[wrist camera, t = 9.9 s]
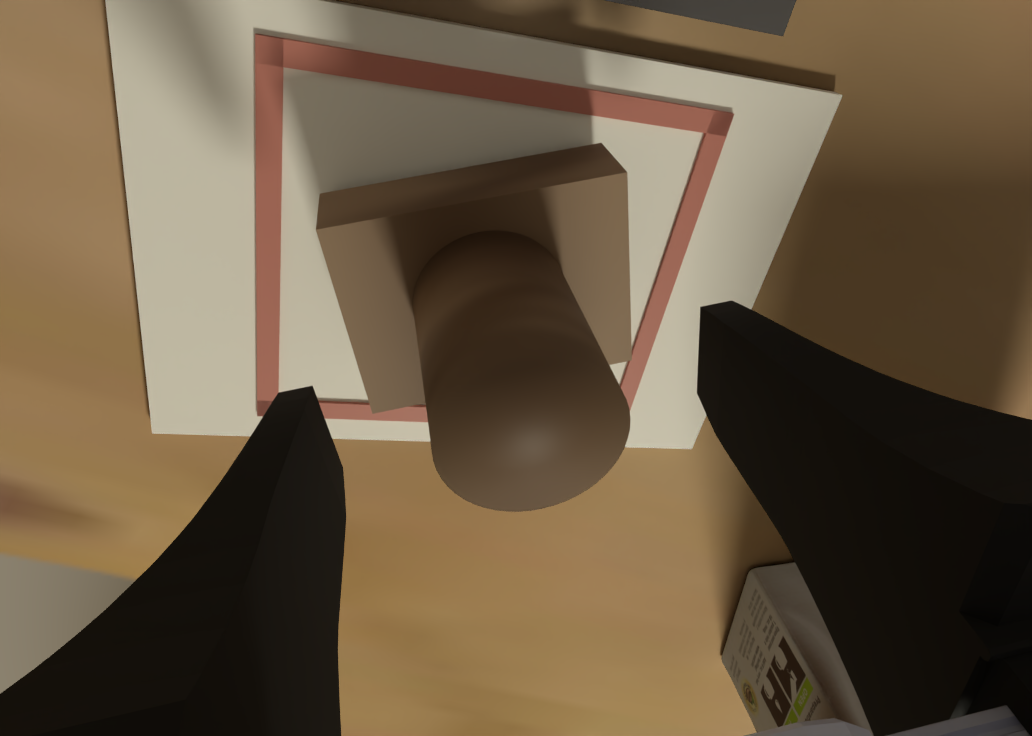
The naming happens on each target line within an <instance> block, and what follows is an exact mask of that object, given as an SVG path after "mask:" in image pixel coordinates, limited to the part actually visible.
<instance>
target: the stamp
mask: <svg viewBox="0 0 1032 736" xmlns="http://www.w3.org/2000/svg"><path fill="white" fill-rule="evenodd" d="M316 232H317V235H318V239H319V242H320V245H321V248H322V252H323V255H324V258H325V261H326V265H327V268H328V271H329V274H330V278H331V281H332V284H333V287H334V291H335V294H336V297H337V300H338V304H339V307H340V310H341V313H342V316H343V320H344V323H345V326H346V329H347V333H348V336H349V339H350V342H351V346H352V349H353V352H354V355H355V359H356V362H357V365H358V368H359V372H360V375H361V378H362V381H363V385H364V388H365V391H366V394H367V398H368V401H369V404H370V407H371V411H372V414H375V413H379V412H384V411H389V410H394V409H399V408H404V407H408V406H413V405H418V404H423V403H426V411H427V418H428V426H429V434H430V441H431V449H432V455H433V461H434V464H435V467H436V470H437V472H438V473H439V475H440V477H441V479H442V480H443V481H444V483H445V484H446V485H447V486H448V487H449V488H450V489H451V490H452V491H453V492H454V493H455V494H457V495H458V496H460V497H461V498H463V499H465V500H467V501H469V502H471V503H473V504H475V505H478V506H481V507H484V508H488V509H493V510H499V511H515V512H519V511H531V510H537V509H542V508H546V507H550V506H554V505H557V504H559V503H562V502H565V501H567V500H569V499H571V498H573V497H575V496H577V495H579V494H581V493H582V492H584V491H586V490H587V489H589V488H590V487H592V486H593V485H594V484H596V483H597V482H598V481H599V480H600V479H601V478H603V477H604V476H605V475H606V474H607V473H608V471H609V470H610V469H611V468H612V467H613V466H614V464H615V463H616V461H617V460H618V459H619V457H620V455H621V453H622V451H623V450H624V447H625V445H626V442H627V439H628V435H629V431H630V410H629V406H628V403H627V399H626V397H625V395H624V393H623V391H622V389H621V387H620V385H619V383H618V381H617V379H616V378H615V376H614V374H613V372H612V370H611V368H610V366H609V365H612V364H617V363H622V362H626V361H631V360H632V344H631V302H630V261H629V219H628V177H627V171H626V170H625V169H624V168H623V167H622V166H621V164H620V163H619V162H618V161H617V160H616V159H615V158H614V156H613V155H612V154H611V153H610V152H609V151H608V150H607V148H606V147H605V146H604V145H603V144H602V143H597V144H591V145H586V146H580V147H575V148H569V149H564V150H558V151H553V152H547V153H542V154H536V155H530V156H525V157H519V158H514V159H508V160H503V161H497V162H492V163H486V164H481V165H475V166H470V167H464V168H459V169H453V170H448V171H442V172H436V173H431V174H425V175H420V176H414V177H409V178H403V179H398V180H392V181H387V182H381V183H376V184H370V185H365V186H359V187H354V188H348V189H342V190H337V191H331V192H326V193H320V194H319V204H318V213H317V223H316Z"/></svg>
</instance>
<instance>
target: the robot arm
mask: <svg viewBox="0 0 1032 736" xmlns="http://www.w3.org/2000/svg"><path fill="white" fill-rule="evenodd" d="M697 395H698V397H699V399H700V401H701V404H702V406H703V408H704V410H705V413H706V415H707V417H708V419H709V421H710V423H711V425H712V427H713V430H714V432H715V434H716V436H717V437H718V439H719V441H720V442H721V444H722V445H723V447H724V449H725V450H726V452H727V453H728V455H729V456H730V458H731V459H732V461H733V463H734V464H735V466H736V467H737V469H738V470H739V472H740V473H741V475H742V476H743V478H744V480H745V481H746V483H747V484H748V486H749V487H750V489H751V490H752V492H753V493H754V495H755V496H756V498H757V499H758V501H759V502H760V504H761V505H762V507H763V509H764V510H765V512H766V513H767V515H768V516H769V518H770V519H771V521H772V522H773V524H774V525H775V527H776V529H777V530H778V532H779V534H780V535H781V537H782V539H783V541H784V542H785V544H786V546H787V547H788V549H789V551H790V553H791V555H792V557H793V559H794V561H795V563H796V565H797V567H798V569H799V571H800V573H801V575H802V577H803V579H804V581H805V583H806V585H807V587H808V589H809V591H810V593H811V595H812V597H813V599H814V601H815V604H816V606H817V608H818V610H819V612H820V614H821V616H822V618H823V620H824V622H825V625H826V627H827V629H828V631H829V633H830V635H831V637H832V639H833V642H834V644H835V646H836V648H837V651H838V653H839V655H840V657H841V660H842V662H843V664H844V666H845V669H846V671H847V673H848V676H849V678H850V680H851V682H852V685H853V687H854V689H855V691H856V694H857V696H858V698H859V701H860V703H861V706H862V708H863V711H864V713H865V716H866V718H867V720H868V723H869V725H870V728H871V730H872V733H873V735H874V736H1032V420H1030V419H1026V418H1021V417H1017V416H1013V415H1009V414H1005V413H1001V412H997V411H993V410H990V409H986V408H983V407H979V406H976V405H972V404H968V403H965V402H961V401H958V400H955V399H951V398H948V397H945V396H942V395H939V394H936V393H933V392H930V391H927V390H924V389H922V388H919V387H916V386H913V385H910V384H908V383H905V382H902V381H899V380H897V379H894V378H891V377H889V376H886V375H884V374H881V373H879V372H877V371H874V370H872V369H870V368H868V367H865V366H863V365H861V364H858V363H856V362H854V361H852V360H849V359H847V358H845V357H843V356H841V355H839V354H836V353H834V352H832V351H830V350H828V349H826V348H824V347H822V346H820V345H818V344H816V343H814V342H812V341H810V340H808V339H806V338H804V337H802V336H800V335H798V334H796V333H795V332H793V331H791V330H789V329H787V328H785V327H783V326H781V325H779V324H777V323H776V322H774V321H772V320H770V319H768V318H766V317H764V316H762V315H760V314H759V313H757V312H755V311H753V310H751V309H749V308H747V307H745V306H743V305H741V304H739V303H736V302H734V301H732V300H731V301H726V302H722V303H717V304H712V305H707V306H702V307H700V326H699V350H698V375H697ZM345 526H346V507H345V490H344V476H343V467H342V464H341V461H340V459H339V456H338V453H337V451H336V448H335V445H334V442H333V440H332V437H331V434H330V432H329V429H328V426H327V423H326V421H325V418H324V415H323V413H322V410H321V407H320V404H319V402H318V399H317V396H316V394H315V391H314V388H313V386H308V387H303V388H298V389H294V390H289V391H284V392H279V393H278V394H277V395H276V397H275V398H274V400H273V401H272V403H271V404H270V406H269V408H268V409H267V411H266V412H265V414H264V416H263V417H262V419H261V420H260V422H259V424H258V425H257V427H256V429H255V430H254V432H253V433H252V435H251V437H250V438H249V440H248V441H247V443H246V444H245V446H244V448H243V449H242V451H241V452H240V454H239V455H238V457H237V458H236V460H235V461H234V463H233V464H232V466H231V467H230V469H229V470H228V472H227V473H226V475H225V476H224V477H223V479H222V480H221V482H220V483H219V485H218V486H217V487H216V489H215V490H214V491H213V493H212V494H211V495H210V497H209V498H208V499H207V501H206V502H205V503H204V505H203V506H202V507H201V509H200V510H199V511H198V513H197V514H196V515H195V517H194V518H193V519H192V520H191V521H190V523H189V524H188V525H187V526H186V527H185V529H184V530H183V531H182V532H181V533H180V535H179V536H178V537H177V538H176V539H175V540H174V541H173V542H172V543H171V545H170V546H169V547H168V548H167V549H166V550H165V551H164V552H163V553H162V555H161V556H160V557H159V558H158V559H157V560H156V561H155V562H154V563H153V564H152V565H151V566H150V567H149V568H148V569H147V570H146V571H145V572H144V573H143V574H142V575H141V576H140V577H139V578H138V579H137V580H136V581H135V582H134V583H133V584H132V585H131V586H130V587H129V588H128V589H127V590H125V591H124V593H122V594H121V595H120V596H119V597H118V598H117V599H116V600H115V601H114V602H113V603H112V604H111V605H110V606H109V607H108V608H107V609H106V610H105V611H103V613H101V614H100V615H99V616H98V617H97V618H96V619H94V620H93V621H92V622H91V623H90V624H89V625H87V626H86V627H85V628H84V629H83V630H82V631H81V632H79V633H78V634H77V635H76V636H75V637H73V638H72V639H71V640H70V641H68V642H67V643H66V644H65V645H64V646H62V647H61V648H60V649H59V650H58V651H56V652H55V653H54V654H53V655H51V656H50V657H49V658H48V659H46V660H45V661H44V662H42V663H41V664H40V665H39V666H37V667H36V668H35V669H34V670H32V671H31V672H29V673H28V674H27V675H25V676H24V677H23V678H21V679H20V680H19V681H17V682H16V683H14V684H13V685H12V686H10V687H9V688H8V689H6V690H5V691H4V692H3V693H1V694H0V736H341V723H340V703H339V675H338V623H339V610H340V596H341V583H342V569H343V556H344V541H345ZM745 736H872V735H871V733H870V731H869V730H868V729H865V728H862V727H859V726H856V725H853V724H850V723H847V722H844V721H841V720H838V719H835V718H831V719H822V720H813V721H804V722H797V723H793V724H789V725H785V726H781V727H777V728H773V729H769V730H765V731H761V732H757V733H753V734H749V735H745Z"/></svg>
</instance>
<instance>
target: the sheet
mask: <svg viewBox="0 0 1032 736" xmlns="http://www.w3.org/2000/svg"><path fill="white" fill-rule="evenodd" d="M105 2H106V11H107V21H108V30H109V39H110V48H111V58H112V67H113V76H114V85H115V95H116V104H117V113H118V122H119V132H120V141H121V150H122V159H123V169H124V178H125V187H126V196H127V206H128V215H129V224H130V233H131V243H132V252H133V261H134V270H135V280H136V289H137V298H138V307H139V317H140V326H141V335H142V344H143V354H144V363H145V372H146V381H147V391H148V400H149V409H150V418H151V428H152V433H157V434H191V435H225V436H251V435H252V433H253V432H254V430H255V429H256V427H257V425H258V424H259V422H260V420H261V419H262V417H263V416H264V414H265V412H266V411H267V409H268V408H269V406H270V404H271V403H272V401H273V400H274V398H275V397H276V395H277V394H278V393H279V392H284V391H289V390H294V389H298V388H303V387H308V386H313V388H314V391H315V394H316V396H317V399H318V402H319V404H320V407H321V410H322V413H323V415H324V418H325V421H326V423H327V426H328V429H329V432H330V434H331V437H332V439H362V440H397V441H430V434H429V426H428V418H427V411H426V403H423V404H418V405H413V406H408V407H404V408H399V409H394V410H389V411H384V412H379V413H375V414H372V411H371V407H370V404H369V401H368V398H367V394H366V391H365V388H364V385H363V381H362V378H361V375H360V372H359V368H358V365H357V362H356V359H355V355H354V352H353V349H352V346H351V342H350V339H349V336H348V333H347V329H346V326H345V323H344V320H343V316H342V313H341V310H340V307H339V304H338V300H337V297H336V294H335V291H334V287H333V284H332V281H331V278H330V274H329V271H328V268H327V265H326V261H325V258H324V255H323V252H322V248H321V245H320V242H319V239H318V235H317V232H316V223H317V213H318V204H319V194H320V193H326V192H331V191H337V190H342V189H348V188H354V187H359V186H365V185H370V184H376V183H381V182H387V181H392V180H398V179H403V178H409V177H414V176H420V175H425V174H431V173H436V172H442V171H448V170H453V169H459V168H464V167H470V166H475V165H481V164H486V163H492V162H497V161H503V160H508V159H514V158H519V157H525V156H530V155H536V154H542V153H547V152H553V151H558V150H564V149H569V148H575V147H580V146H586V145H591V144H597V143H602V144H603V145H604V146H605V147H606V148H607V150H608V151H609V152H610V153H611V154H612V155H613V156H614V158H615V159H616V160H617V161H618V162H619V163H620V164H621V166H622V167H623V168H624V169H625V170H626V171H627V177H628V219H629V261H630V302H631V344H632V360H631V361H626V362H622V363H617V364H612V365H609V366H610V368H611V370H612V372H613V374H614V376H615V378H616V379H617V381H618V383H619V385H620V387H621V389H622V391H623V393H624V395H625V397H626V399H627V403H628V406H629V410H630V431H629V435H628V439H627V442H626V445H625V447H637V448H671V449H692V448H693V445H694V443H695V441H696V438H697V436H698V434H699V431H700V429H701V426H702V424H703V422H704V419H705V417H706V413H705V410H704V408H703V406H702V404H701V401H700V399H699V397H698V395H697V375H698V350H699V326H700V307H702V306H707V305H712V304H717V303H722V302H726V301H731V300H732V301H734V302H736V303H739V304H741V305H743V306H745V307H747V308H749V309H752V307H753V305H754V302H755V300H756V297H757V295H758V293H759V290H760V288H761V286H762V283H763V281H764V279H765V276H766V274H767V272H768V269H769V267H770V265H771V262H772V260H773V258H774V255H775V253H776V251H777V248H778V246H779V244H780V241H781V239H782V237H783V234H784V232H785V229H786V227H787V225H788V222H789V220H790V218H791V215H792V213H793V211H794V208H795V206H796V204H797V201H798V199H799V197H800V194H801V192H802V190H803V187H804V185H805V183H806V180H807V178H808V176H809V173H810V171H811V169H812V166H813V164H814V161H815V159H816V157H817V154H818V152H819V150H820V147H821V145H822V143H823V140H824V138H825V136H826V133H827V131H828V129H829V126H830V124H831V122H832V119H833V117H834V115H835V112H836V110H837V108H838V105H839V103H840V100H841V98H842V96H843V95H841V94H839V93H837V92H833V91H828V90H822V89H817V88H811V87H806V86H800V85H795V84H789V83H784V82H778V81H773V80H768V79H762V78H757V77H751V76H746V75H740V74H735V73H729V72H724V71H718V70H713V69H707V68H702V67H696V66H691V65H685V64H680V63H674V62H669V61H663V60H658V59H652V58H647V57H642V56H636V55H631V54H625V53H620V52H614V51H609V50H603V49H598V48H592V47H587V46H581V45H576V44H570V43H565V42H559V41H554V40H548V39H543V38H537V37H532V36H526V35H521V34H516V33H510V32H505V31H499V30H494V29H488V28H483V27H477V26H472V25H466V24H461V23H455V22H450V21H444V20H439V19H433V18H428V17H422V16H417V15H411V14H406V13H400V12H395V11H390V10H384V9H379V8H373V7H368V6H362V5H357V4H351V3H346V2H340V1H335V0H105Z"/></svg>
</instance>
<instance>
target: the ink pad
mask: <svg viewBox="0 0 1032 736" xmlns="http://www.w3.org/2000/svg"><path fill="white" fill-rule="evenodd" d="M606 1H611V2H615V3H620V4H625V5H630V6H635V7H640V8H645V9H650V10H655V11H660V12H665V13H670V14H675V15H680V16H685V17H690V18H695V19H700V20H705V21H710V22H715V23H720V24H725V25H730V26H735V27H739V28H744V29H749V30H754V31H759V32H764V33H769V34H774V35H779V36H783V35H784V32H785V29H786V27H787V24H788V21H789V18H790V16H791V13H792V10H793V8H794V5H795V2H796V0H606Z"/></svg>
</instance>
